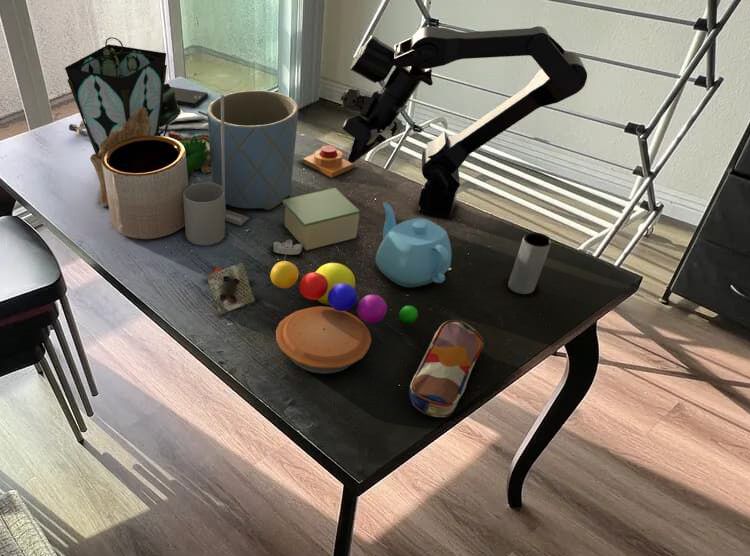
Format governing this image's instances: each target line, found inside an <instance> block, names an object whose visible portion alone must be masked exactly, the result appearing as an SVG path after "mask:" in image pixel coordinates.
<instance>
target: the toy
mask: <svg viewBox="0 0 750 556" xmlns="http://www.w3.org/2000/svg"><path fill="white" fill-rule="evenodd" d="M196 136H197V135H192V136H191V137H192V138H191V140H190V141H183V142H180V143H181V144H182V145H183V146H184V148H185V152H186V163H187V174H188V179H191V178H193V179H194V181H193V182H194V183H193V184H196V183H203V180H202V179H201V177H197V176H196V175H195V173H194V170H198V169H201V168H200V167H201V166H202V165H203V164H204V162H205V160H206V158H207V155H208V154H209V152H208V151H205V147H206V141H205V142H203V143H202V140H200V141H199V142H198V140H197V138H196Z"/></svg>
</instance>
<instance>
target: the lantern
mask: <svg viewBox="0 0 750 556" xmlns="http://www.w3.org/2000/svg"><path fill="white" fill-rule="evenodd" d="M110 39H111V40H112V39H113V40H116V41H118V42H119V44H120V45H115V44H109V43H108V41H109V40H110ZM104 44H105V46H102V47H100V48H99V49H97V50H95V51H93V52H91V53H89V54H88V55H86V56H84V57H82V58H80V59H79V60H76V61H75V62H73V63H70V64H69V65H67V66H65V67H64V70H65V72H66V75H67V79H66V81H67V83H68V85H69V88H70V90H71V93H72V96H73V99H74V102H75V104H76V106H77V110H78V112H79V115H80V117H81V121H82V120H83V122H84V125H85V128H86V129H85V131H86V132H87V133H88V134H87V135H88V138H89V141H90V143H91V146H92V149H93V151H94V154H98V152H99V150H100V144H101V143H102V142H103V141H104V140H105V139H106V138H107V137H108V136H109V134H110V132H112V131H119V130H120V129H121V128H122V127H123V126H124V125H125V123H126V122H127V121H128V119H129V118H130V116H132V115H133V114H134V113H135V111H136V110H138V109H139V108H142V107H144V108H146V110H147V111H148V117H149V120H150V125H151V134H150V136H159V132H160V129H159V127H160V119H161V110H162V102H163V93H164V85H165V84H166V74H167V68H168V67H167V66H168V65H167V64H166V59H167V52H161V51H154V50H148V49H144V48H143V49H142V48H137V47H129V46H124V45H123V43H122V41H121V40H120V39H118V38H116V37H114V36H113V37H108V38H107V39H106V40H105V42H104Z"/></svg>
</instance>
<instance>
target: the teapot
mask: <svg viewBox="0 0 750 556" xmlns="http://www.w3.org/2000/svg"><path fill="white" fill-rule="evenodd" d="M382 206H383V209H384V211H385V220H384V224H383V230H382V241H381V243H380V245H379V247H378V249H377V251H376V255H375V264H376V267H377V268H378V270H379V271H380V273H381V274H383V276H384V277H386V278H387V279H388V280H390V281H391V282H393V283H395V284H396V285H398V286H400V287H404V288H418V287H423V286H426V285H429V284H431V283H433V282H434V283H435V284H442V283H443V282H444V281H445V280H446V276H445V273H447V272H448V270H449V269H450V268H451V264H452V246H451V242H450V238H449V235H448V232H447V231H446V229H444V228H443V227H442V226H440V225H439V224H437V223H435V222H434V221H432V220H430V219H427V218H423V217H420V218H419V217H417V218H416V217H415V218H411V219H408V220H407V219H406V220H404V221H402V222H400V223H398V224H397V222H396V217H395V212H394V208H393V206H392V205H390V204H389V203H388V202H385V201H383V202H382Z"/></svg>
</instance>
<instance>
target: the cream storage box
mask: <svg viewBox="0 0 750 556" xmlns="http://www.w3.org/2000/svg"><path fill="white" fill-rule="evenodd" d="M284 207H285V208H284V227H285V228H286V229H287V230H288V231H289V232H290V234H292V236H293V237H294V238H295V240H297V241H298V244H301V245H302V248H303V249H304V250H305V251H309V250H312V249H317V248H321V247H324V246H328V245H332V244H333V245H334V244H337V243H341V242H345V241H349V240H353V239H357V234H358V227H359V220H360V213H359V214H355V215H351V216H346V217H342V218H338V219H334V220H330V221H326V222H322V223H318V224H314V225H310V226H306V227H304V226H303V225H302V224H301V222H300V221H299V220H298V219H297V218H296V217H295V216H294V215H293V214H292V213H291V212H290V210H289V209H288V208H287V207H286V206H285V205H284Z"/></svg>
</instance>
